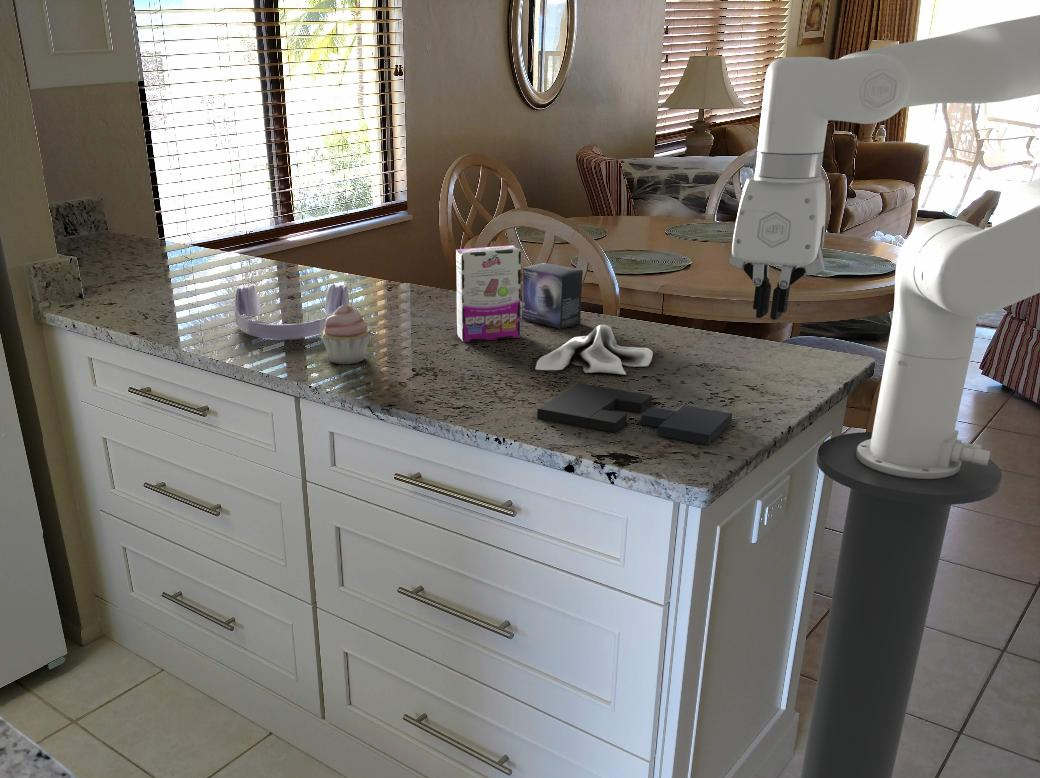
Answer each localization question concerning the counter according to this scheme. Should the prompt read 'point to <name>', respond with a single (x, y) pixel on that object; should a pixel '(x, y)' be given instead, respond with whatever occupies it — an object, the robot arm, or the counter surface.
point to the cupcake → (346, 336)
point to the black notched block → (593, 407)
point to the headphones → (250, 306)
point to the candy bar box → (488, 293)
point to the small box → (551, 295)
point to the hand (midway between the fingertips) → (768, 315)
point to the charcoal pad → (687, 423)
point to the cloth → (595, 354)
